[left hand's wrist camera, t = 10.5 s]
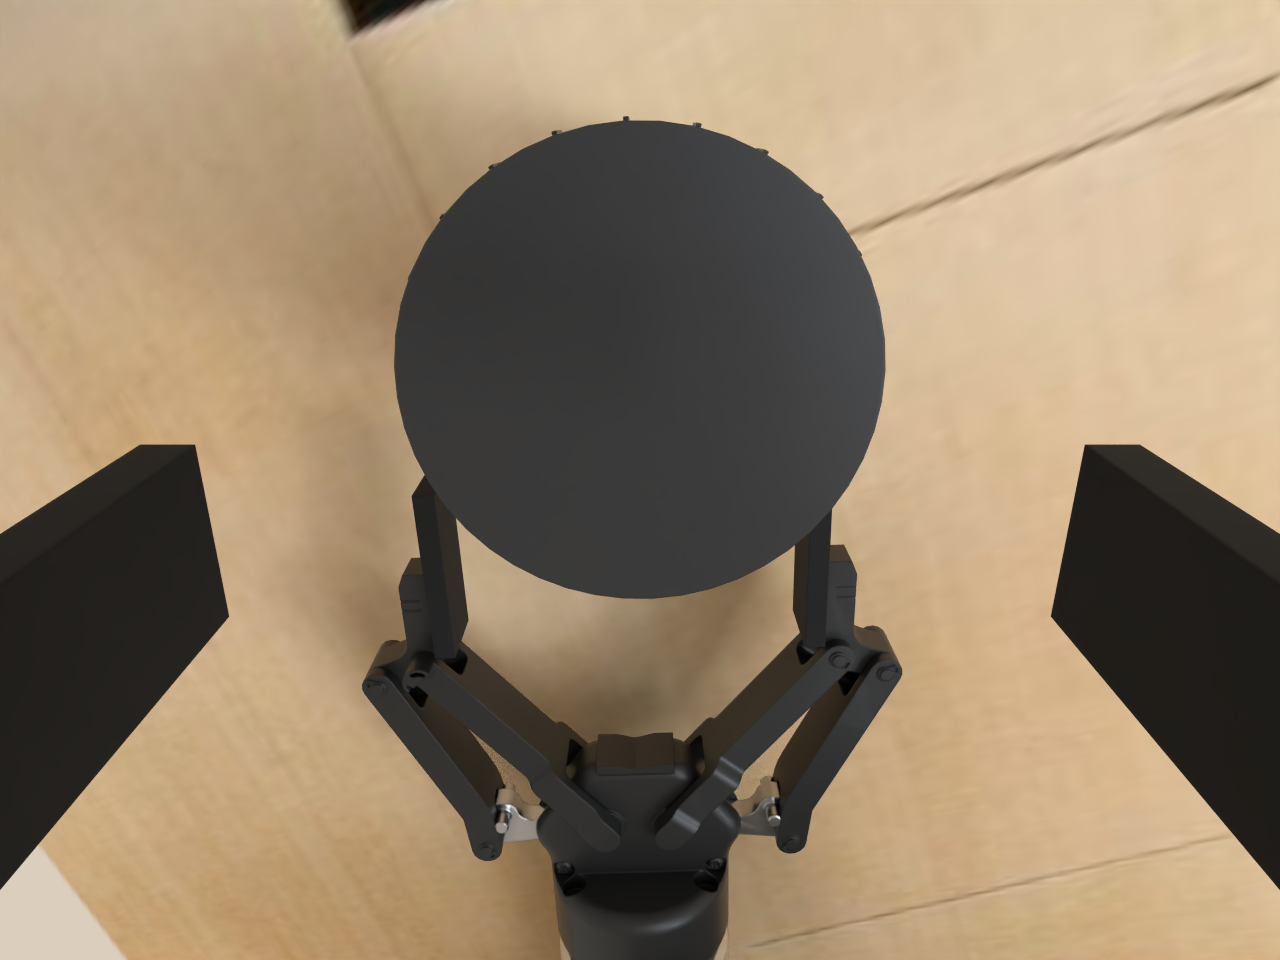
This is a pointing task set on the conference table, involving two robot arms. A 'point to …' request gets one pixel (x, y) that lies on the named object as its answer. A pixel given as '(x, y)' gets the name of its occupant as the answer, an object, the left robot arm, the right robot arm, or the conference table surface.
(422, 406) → the lid
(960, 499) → the conference table surface
